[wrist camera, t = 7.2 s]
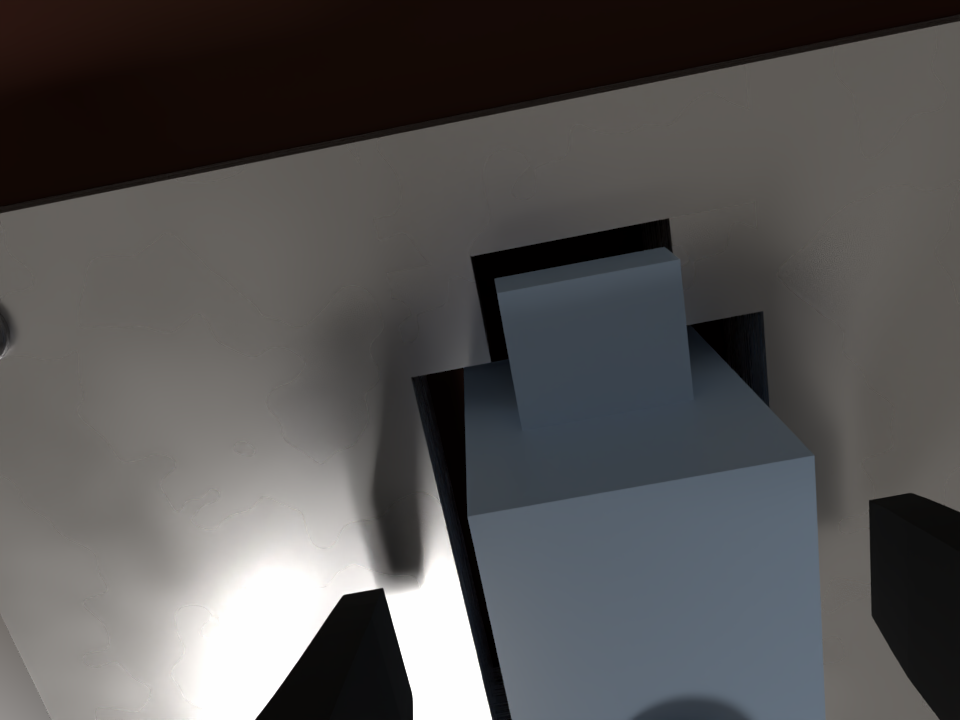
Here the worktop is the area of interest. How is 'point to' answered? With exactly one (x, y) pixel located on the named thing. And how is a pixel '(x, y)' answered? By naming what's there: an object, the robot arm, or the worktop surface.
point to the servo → (637, 510)
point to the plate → (451, 364)
